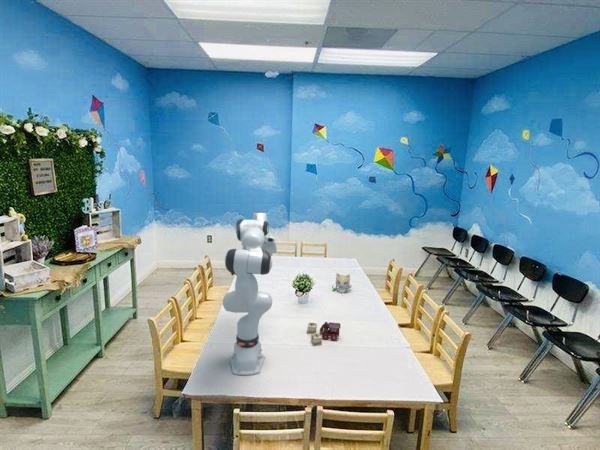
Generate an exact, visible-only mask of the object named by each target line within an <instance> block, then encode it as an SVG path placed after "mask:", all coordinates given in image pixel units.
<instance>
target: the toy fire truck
mask: <svg viewBox="0 0 600 450" xmlns="http://www.w3.org/2000/svg"><path fill="white" fill-rule="evenodd" d="M340 329H341V323H340V322H328V321H325V322H324V323H323V324H322V325H321V327H320V328H319V333H320V335H321V337H322V340H328V339H329V338H330V341H332V342H335V341H337V340H338V338H339V337H340Z"/></svg>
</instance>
